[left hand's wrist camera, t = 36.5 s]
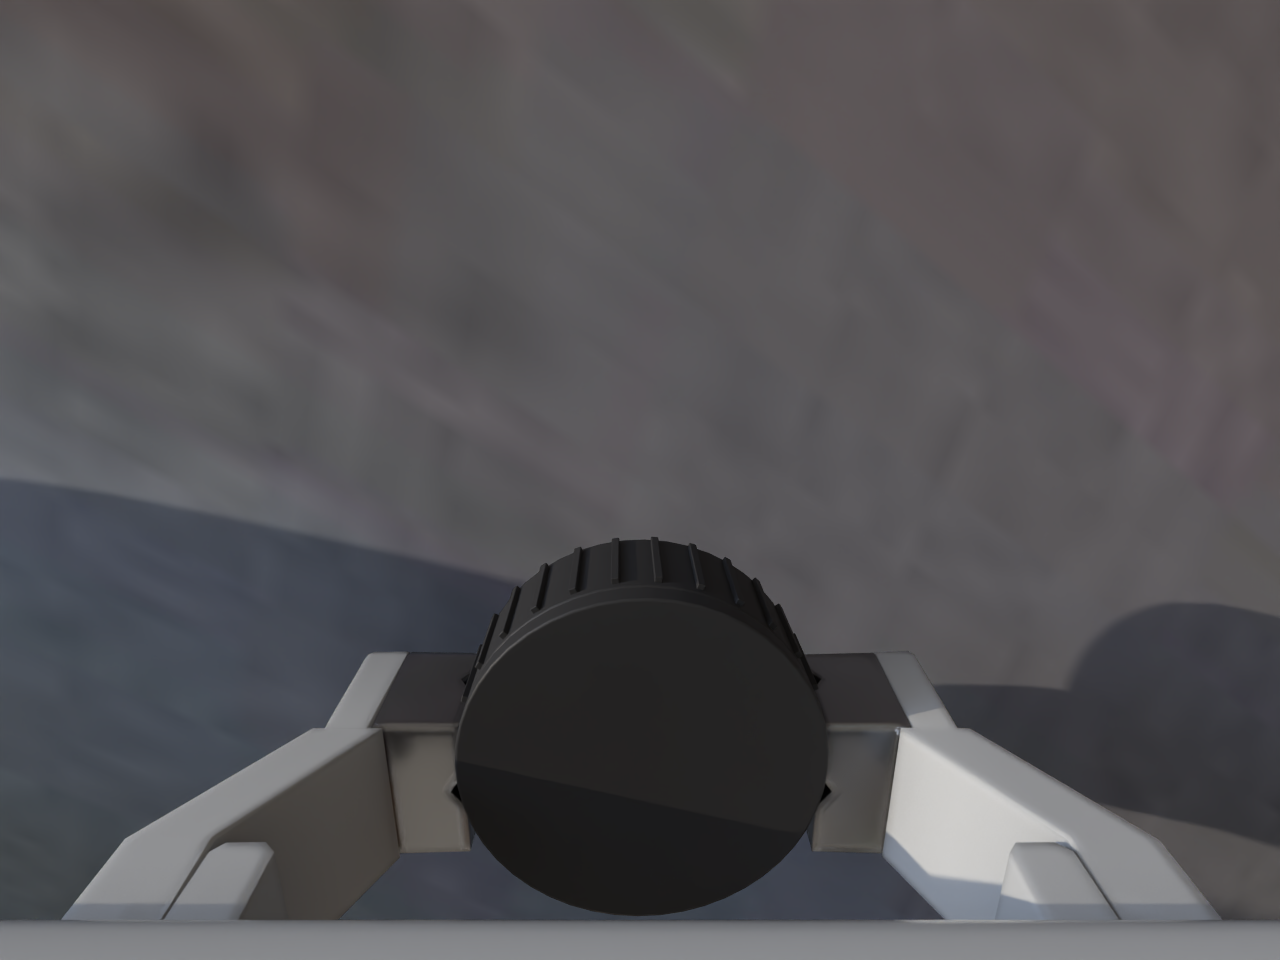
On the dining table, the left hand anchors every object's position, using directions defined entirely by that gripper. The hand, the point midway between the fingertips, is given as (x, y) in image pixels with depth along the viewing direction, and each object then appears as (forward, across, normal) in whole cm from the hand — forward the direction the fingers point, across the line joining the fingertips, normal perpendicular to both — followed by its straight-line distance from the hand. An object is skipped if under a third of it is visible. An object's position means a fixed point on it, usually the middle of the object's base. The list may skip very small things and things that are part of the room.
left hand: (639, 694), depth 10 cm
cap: (-2, 0, 0) cm, 2 cm away
